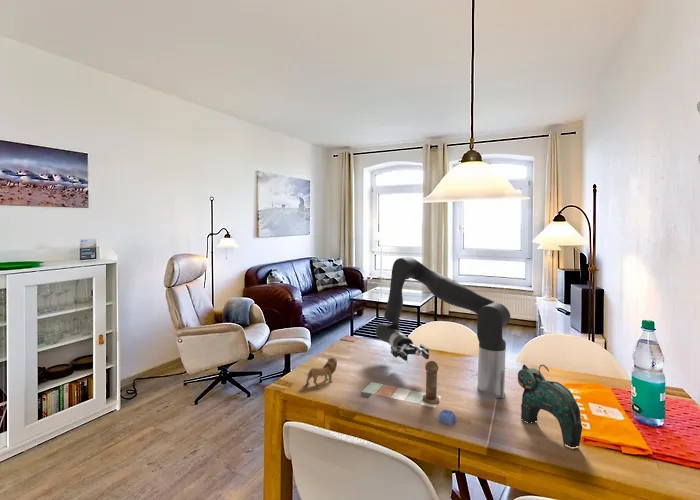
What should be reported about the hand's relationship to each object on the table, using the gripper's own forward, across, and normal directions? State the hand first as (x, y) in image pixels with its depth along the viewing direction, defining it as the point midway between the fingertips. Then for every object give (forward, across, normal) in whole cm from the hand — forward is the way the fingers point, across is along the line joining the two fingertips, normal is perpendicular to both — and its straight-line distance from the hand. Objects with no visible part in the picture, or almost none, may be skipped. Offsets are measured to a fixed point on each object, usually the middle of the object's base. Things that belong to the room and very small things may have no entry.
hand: (417, 357), depth 138 cm
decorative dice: (+25, -1, +12) cm, 28 cm away
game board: (+5, -8, +12) cm, 16 cm away
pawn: (+12, 0, +11) cm, 16 cm away
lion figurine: (-15, -33, +13) cm, 39 cm away
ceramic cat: (+35, +27, +12) cm, 46 cm away
